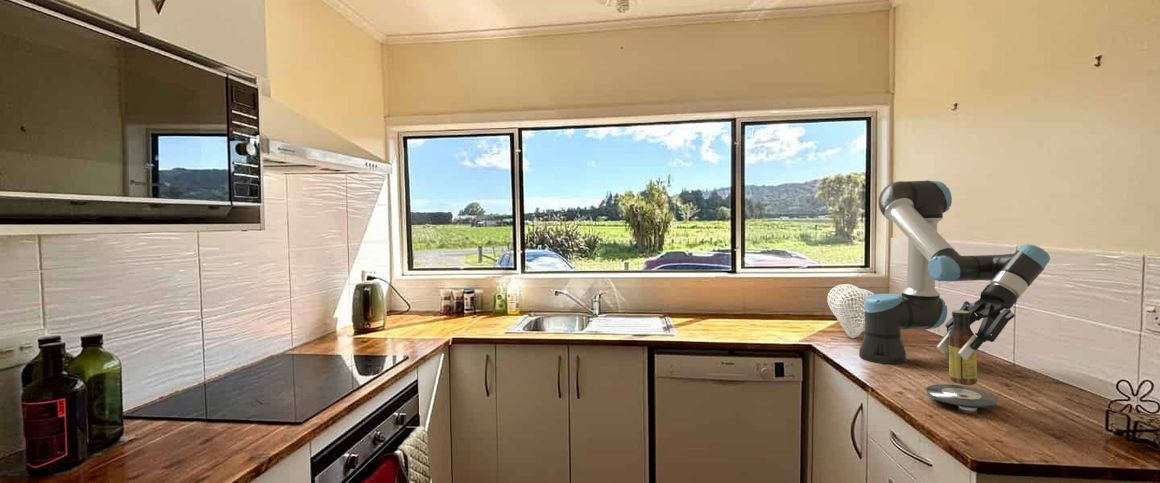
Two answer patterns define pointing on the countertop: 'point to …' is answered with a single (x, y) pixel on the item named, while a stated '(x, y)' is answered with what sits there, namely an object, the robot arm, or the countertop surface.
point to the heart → (839, 313)
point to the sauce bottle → (958, 337)
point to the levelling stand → (962, 397)
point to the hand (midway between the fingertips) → (951, 353)
